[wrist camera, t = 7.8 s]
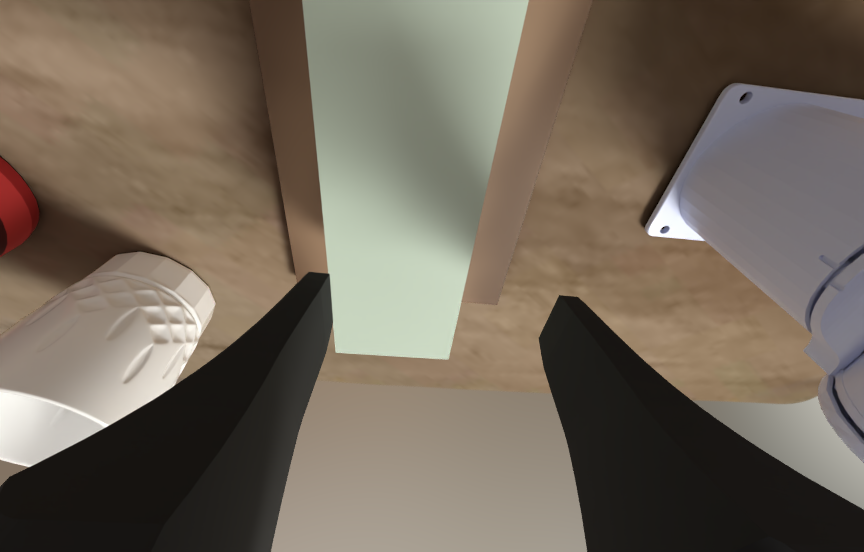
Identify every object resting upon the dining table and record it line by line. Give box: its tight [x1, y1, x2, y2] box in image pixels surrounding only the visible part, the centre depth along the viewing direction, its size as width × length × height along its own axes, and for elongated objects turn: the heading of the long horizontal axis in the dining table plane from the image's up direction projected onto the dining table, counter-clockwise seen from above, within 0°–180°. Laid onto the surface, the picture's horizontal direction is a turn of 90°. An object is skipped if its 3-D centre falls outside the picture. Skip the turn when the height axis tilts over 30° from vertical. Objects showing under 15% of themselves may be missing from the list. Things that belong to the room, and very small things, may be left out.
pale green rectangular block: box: [302, 0, 529, 359], centre depth 13 cm, size 14×5×4 cm, turn 174°
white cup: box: [0, 252, 215, 467], centre depth 20 cm, size 8×8×10 cm
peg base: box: [249, 0, 593, 305], centre depth 16 cm, size 13×20×4 cm, turn 174°
